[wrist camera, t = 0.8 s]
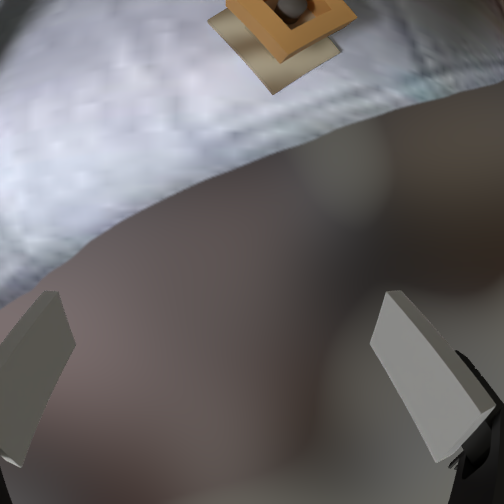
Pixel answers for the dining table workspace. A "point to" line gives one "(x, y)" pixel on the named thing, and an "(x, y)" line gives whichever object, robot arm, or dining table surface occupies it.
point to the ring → (280, 35)
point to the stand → (256, 54)
